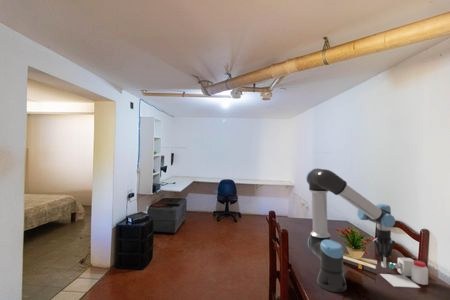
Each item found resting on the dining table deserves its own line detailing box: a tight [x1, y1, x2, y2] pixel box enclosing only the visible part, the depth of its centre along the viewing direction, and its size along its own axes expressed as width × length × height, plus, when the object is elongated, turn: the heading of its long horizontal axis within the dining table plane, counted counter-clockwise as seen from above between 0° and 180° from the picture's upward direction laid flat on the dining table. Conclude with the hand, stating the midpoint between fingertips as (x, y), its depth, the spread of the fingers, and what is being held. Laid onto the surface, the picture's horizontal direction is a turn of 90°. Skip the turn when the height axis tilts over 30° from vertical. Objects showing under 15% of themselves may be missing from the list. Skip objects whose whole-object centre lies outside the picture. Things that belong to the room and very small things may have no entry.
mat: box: [379, 273, 421, 289], centre depth 142 cm, size 14×14×1 cm
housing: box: [397, 257, 415, 277], centre depth 151 cm, size 8×6×9 cm
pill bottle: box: [410, 260, 429, 286], centre depth 142 cm, size 8×8×11 cm
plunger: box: [387, 261, 403, 270], centre depth 152 cm, size 10×4×4 cm, turn 86°
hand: (383, 266), depth 152 cm, fingers closed
